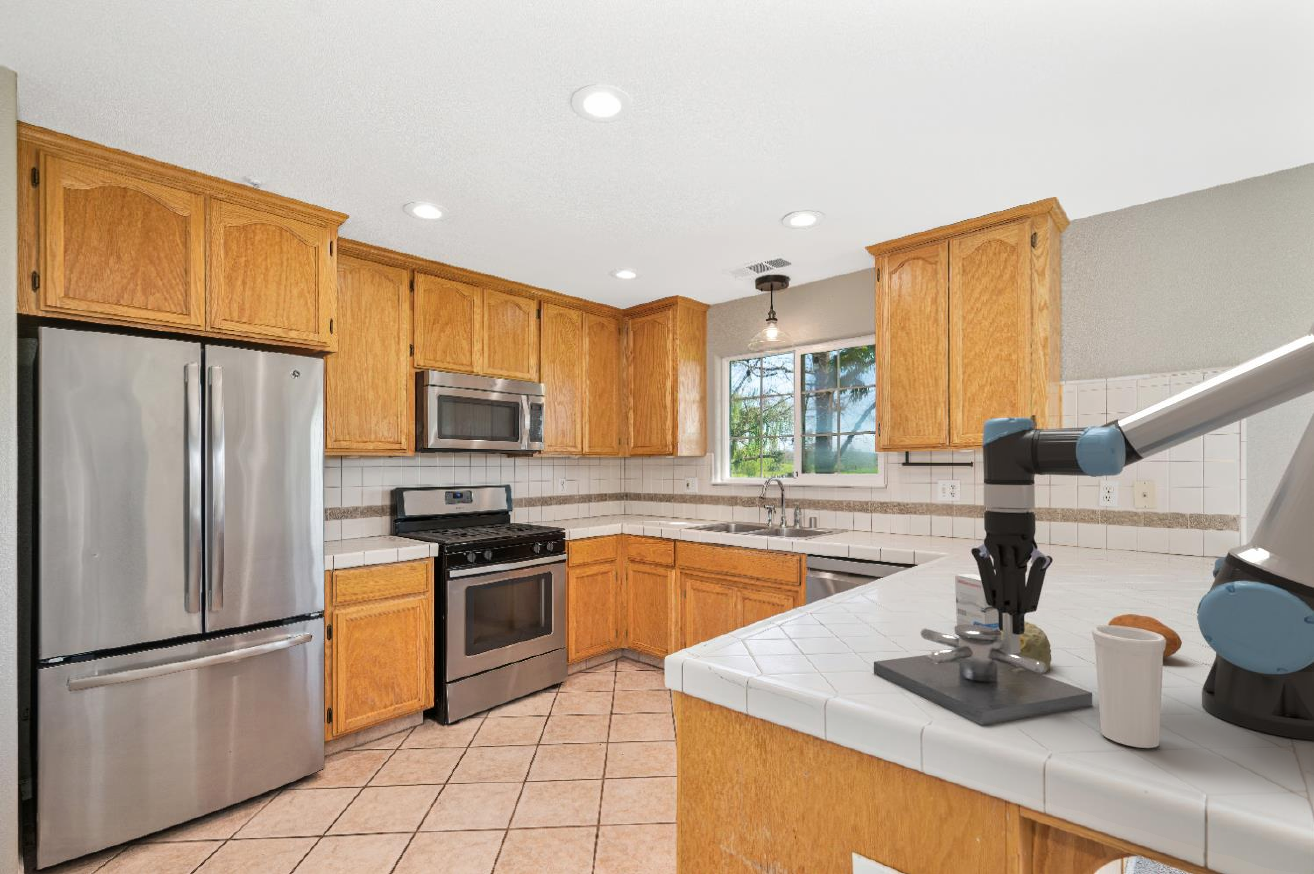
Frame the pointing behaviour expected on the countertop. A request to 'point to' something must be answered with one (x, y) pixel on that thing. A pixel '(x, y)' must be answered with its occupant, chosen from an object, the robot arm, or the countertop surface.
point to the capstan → (979, 652)
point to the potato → (1151, 625)
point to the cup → (1129, 683)
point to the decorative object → (1035, 644)
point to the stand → (984, 690)
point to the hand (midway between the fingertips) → (1011, 652)
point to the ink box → (973, 603)
